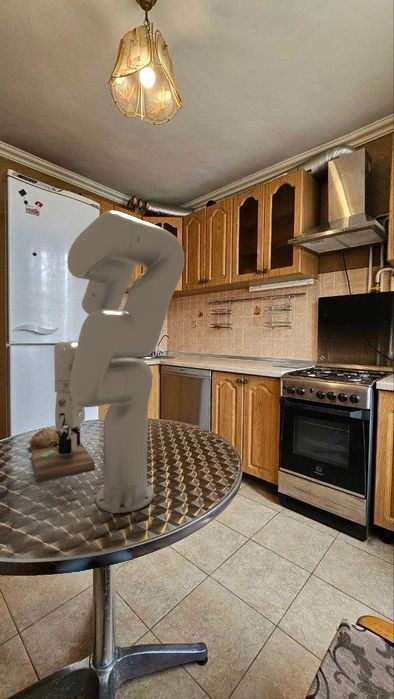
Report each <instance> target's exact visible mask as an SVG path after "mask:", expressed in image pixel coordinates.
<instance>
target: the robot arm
mask: <svg viewBox="0 0 394 699" xmlns="http://www.w3.org/2000/svg"><path fill="white" fill-rule="evenodd" d="M66 261H67V268H68V271H69V273H70V274H71V275H72V276H74V277H75V278H76V279H77V278H78V279H82V280H87V281H88V282H87V285H86V288H85V292H84V295H83V298H82V301H81V307H82V310H83V311H84V312H85V313H86V314H87V315H88V316H86V318H85V319H84V321H83V323H82V326H81V329H80V331H79V336H78V340H74V341H73V340H71V341H60V342H57V343H56V344H55V345H54V350H53V352H54V353H53V355H54V356H53V358H54V362H53V363H54V364H53V365H54V392H55V393H56V394H55V407H54V408H55V410H54V419H55V420H54V422H55V424H54V425H55V429H56V433H57V434H58V440H59V454H70V453H71V452H72V444H71V439H70V434H71V431H73V432H75V433H76V434H77V446H78V445H80V442H81V424H82V423H83V422H84V421H85V418H86V416H85V415H86V414H85V413H86V412H85V408H96V407H100V406H106V405H109V406H108V409H107V410H106V414H105V416H104V421H103V487H102V488H100V489H99V490H98V491H97V493H96V495H95V497H96V498H95V502H96V505H97V507H99V508H100V509H102V511H105V512H107V513H108V512H109V513H111V514H119V513H120V514H121V513H130V512H134V511H138V510H140V509H142V508H144V507H146V506H147V505H149V504H150V503H151V502H152V500H153V498H154V497H155V496H154V493H155V492H154V491H155V490H154V488H153V485H151V484H150V483H148V414H149V413H148V412H149V402H150V397H151V392H152V386H153V373H152V370H151V368H150V366H149V365H148V363H146V362H145V361H144V360H142V359H139V358H140V357H146V356H149V355H151V354H152V353H153V352H154V351H155V350H156V347H157V344H159V343H158V342H159V339H160V336H161V333H162V330H163V326H164V323H165V321H166V316H167V313H168V309H169V305H170V303H171V300H172V298H173V295H174V292H175V290H176V288H177V286H178V284H179V282H180V279H181V277H182V274H183V272H184V269H185V268H184V267H185V252H184V249H183V246H182V244H181V242H180V240H179V239H178V237H176V235H174V234H173V233H172V232H170V231H168V230H166V229H164V228H163V227H160V226H158V225H156V224H152V223H151V222H147V221H146V220H142V219H139V218H137V217H134V216H131V215H128V214H126V213H124V212H120V211H117V210H107V211H105V212H103V213H101V214H100V215H98V216H97V217H96V218H95V219H94V220H93V221H92V222H90V224H89V225H88V226H87V227H86V228H85V229H84V230H82V232H81V233H80V234H79V235H78V236H77V237H76V238H75V239H74V241H73V243H72V244H71V246H70V249H69V251H68V254H67V260H66ZM136 266H140V267H144V268H145V269H146V270H144V271H143V272H142V273H141V274H140V275H138V276H137V277H136V279H135V280H134V281H133V282H132V283H131V286H130V287H129V290H128V294H127V297H126V301H125V304H124V307H123V308H122V309H120V306H121V304H122V301H123V299H124V298H125V297H124V296H125V294H126V291H127V289H128V286H129V284H130V281H131V279H132V276H133V274H134V270H135V267H136ZM64 426H67V427H64ZM64 430H67V433H66V432H65V431H64Z"/></svg>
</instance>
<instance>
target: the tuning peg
mask: <svg viewBox="0 0 394 699" xmlns="http://www.w3.org/2000/svg"><path fill="white" fill-rule="evenodd" d="M64 431H65V432H66V433H67V430H64ZM70 439H71V444H72V449H74V448H77V434H76V433H75V432H73V431H71V434H70ZM56 448H57V449H58V450H59V446H56ZM73 455H74V452H73V451H72V452H71V453H70V454H62V457H64V458H70V457H72V456H73Z"/></svg>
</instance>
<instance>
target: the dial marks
mask: <svg viewBox="0 0 394 699" xmlns="http://www.w3.org/2000/svg"><path fill="white" fill-rule="evenodd" d="M75 449H76V448H74V449H73V450H75ZM54 453H56V452H55V451H49V452H46V453H44V454H43V455H41V456H40V457H48V456H50V455H52V454H54Z"/></svg>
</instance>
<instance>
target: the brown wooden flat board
mask: <svg viewBox="0 0 394 699" xmlns="http://www.w3.org/2000/svg"><path fill="white" fill-rule="evenodd" d="M49 451H55V452H56V453H54V454H52V455H50V456H48V457H40V456H41V455H43V454H44V453H46V452H49ZM72 451H73V452H74V455H73V456H72V457H70V458H64V457H62V454H59V450H58V449H57V448H56V447H51V448H45V449H39V450H33V451H32V450H31V461H32V465H33V470H34V474H35V479H36V483H39V482H43V481H48V480H52V479H57V478H61V477H65V476H70V475H75V474H80V473H85V472H89V471H92V470H96V465H95V464H96V463H95V460H94V459H93V458H92V456H91V455H90V453H89V452H88V451H87V449H86V448H85V446H84V445H83V443H82V442H81V441H80V445H78V446H77V448H76V449H75V450H73V449H72Z"/></svg>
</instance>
